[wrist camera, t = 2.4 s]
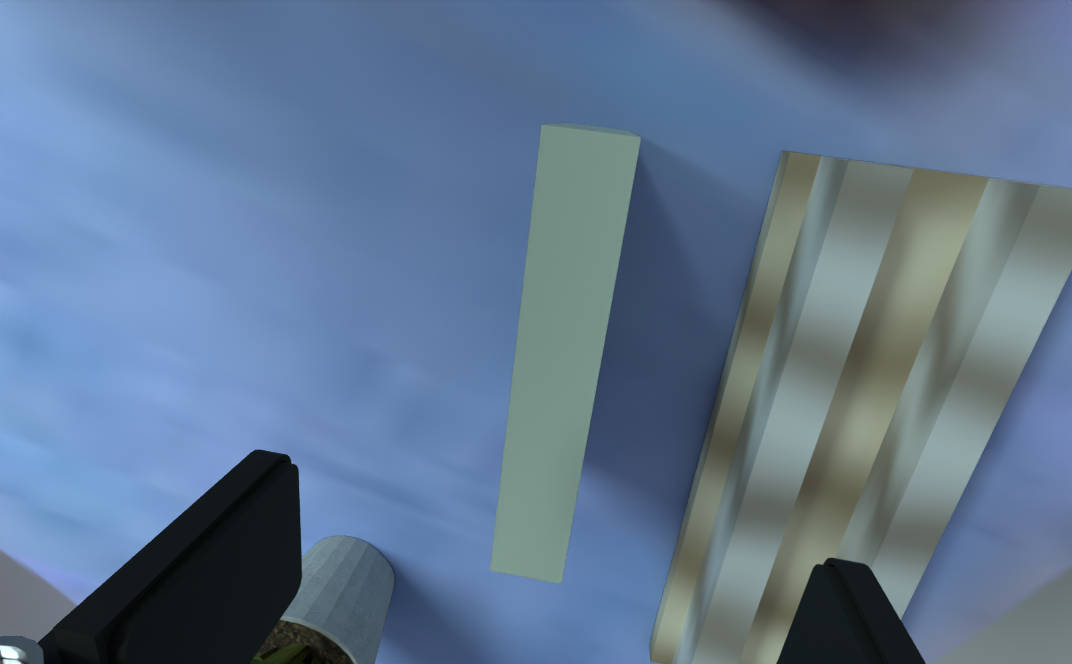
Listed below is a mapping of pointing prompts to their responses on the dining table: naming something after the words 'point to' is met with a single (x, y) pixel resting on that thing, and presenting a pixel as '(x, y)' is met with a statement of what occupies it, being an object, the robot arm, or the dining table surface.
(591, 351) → the door panel
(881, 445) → the door track
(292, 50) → the dining table surface
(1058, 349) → the dining table surface
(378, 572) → the house plant
